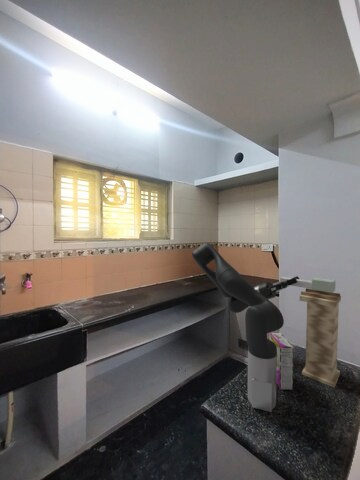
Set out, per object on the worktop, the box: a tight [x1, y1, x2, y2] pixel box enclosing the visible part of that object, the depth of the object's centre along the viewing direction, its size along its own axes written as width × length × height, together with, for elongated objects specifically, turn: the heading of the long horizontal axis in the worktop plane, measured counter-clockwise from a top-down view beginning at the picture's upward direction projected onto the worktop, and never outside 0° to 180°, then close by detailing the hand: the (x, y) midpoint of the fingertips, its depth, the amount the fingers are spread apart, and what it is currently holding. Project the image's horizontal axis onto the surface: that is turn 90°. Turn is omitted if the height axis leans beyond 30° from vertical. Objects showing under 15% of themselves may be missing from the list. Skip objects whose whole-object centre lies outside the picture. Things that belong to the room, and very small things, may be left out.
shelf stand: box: [298, 288, 342, 389], centre depth 89 cm, size 12×11×33 cm
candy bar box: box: [268, 332, 294, 391], centre depth 86 cm, size 11×5×16 cm, turn 179°
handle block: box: [279, 276, 337, 293], centre depth 92 cm, size 20×5×4 cm, turn 46°
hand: (297, 279), depth 94 cm, fingers closed on handle block, 3 cm apart
